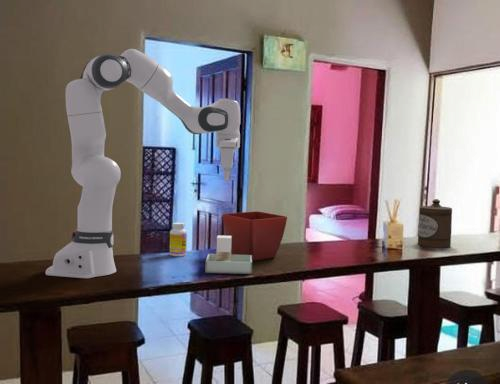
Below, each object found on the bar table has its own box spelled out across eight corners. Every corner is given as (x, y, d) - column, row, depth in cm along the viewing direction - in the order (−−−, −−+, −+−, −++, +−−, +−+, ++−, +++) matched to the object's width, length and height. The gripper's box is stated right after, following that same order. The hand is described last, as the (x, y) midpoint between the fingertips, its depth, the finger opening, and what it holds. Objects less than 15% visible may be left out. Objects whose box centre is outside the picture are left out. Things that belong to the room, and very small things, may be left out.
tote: (205, 272, 181) (205, 261, 181) (207, 264, 194) (208, 253, 194) (251, 274, 182) (252, 262, 181) (251, 265, 195) (251, 255, 194)
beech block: (215, 268, 185) (216, 251, 185) (216, 265, 190) (217, 249, 190) (230, 269, 186) (230, 252, 185) (230, 265, 190) (230, 249, 190)
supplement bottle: (183, 257, 206) (183, 224, 205) (167, 256, 207) (167, 223, 206) (188, 254, 212) (189, 222, 211) (172, 253, 214) (173, 221, 213)
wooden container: (411, 242, 257) (413, 197, 255) (437, 242, 261) (439, 197, 260) (430, 248, 243) (433, 200, 241) (457, 247, 247) (460, 200, 245)
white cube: (216, 251, 185) (216, 237, 185) (217, 249, 190) (217, 235, 190) (230, 252, 185) (231, 238, 185) (231, 249, 190) (231, 235, 190)
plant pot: (250, 264, 198) (251, 219, 196) (219, 255, 212) (220, 213, 211) (287, 258, 210) (288, 216, 209) (256, 250, 225) (257, 211, 223)
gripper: (220, 142, 207) (219, 178, 208) (218, 142, 186) (217, 181, 187) (236, 143, 207) (235, 178, 208) (236, 142, 186) (235, 181, 188)
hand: (227, 179), depth 198 cm, fingers open, 8 cm apart
